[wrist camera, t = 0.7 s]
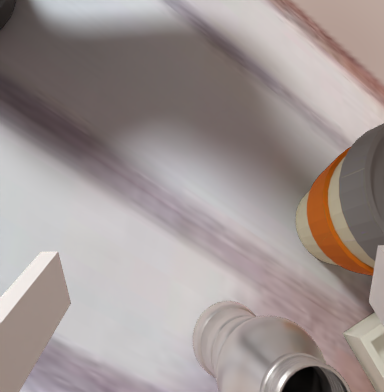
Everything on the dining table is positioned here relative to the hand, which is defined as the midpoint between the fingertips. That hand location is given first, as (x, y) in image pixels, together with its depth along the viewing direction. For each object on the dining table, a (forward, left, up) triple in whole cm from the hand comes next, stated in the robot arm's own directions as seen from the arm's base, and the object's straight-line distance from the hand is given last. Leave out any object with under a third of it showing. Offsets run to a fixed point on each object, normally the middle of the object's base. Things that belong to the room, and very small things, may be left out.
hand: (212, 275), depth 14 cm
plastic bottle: (+7, +1, -21) cm, 22 cm away
